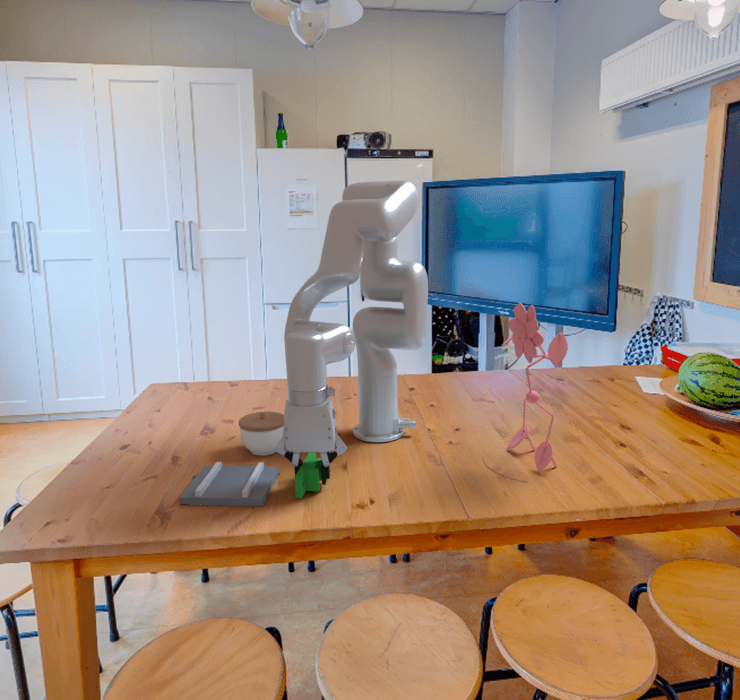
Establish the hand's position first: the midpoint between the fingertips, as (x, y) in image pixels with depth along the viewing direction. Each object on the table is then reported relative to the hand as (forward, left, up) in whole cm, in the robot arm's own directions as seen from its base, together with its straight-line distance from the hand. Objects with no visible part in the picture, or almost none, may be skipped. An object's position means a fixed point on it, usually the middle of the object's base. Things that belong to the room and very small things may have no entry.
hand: (312, 480), depth 114 cm
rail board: (+16, +1, -2) cm, 16 cm away
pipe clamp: (0, 0, -1) cm, 1 cm away
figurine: (-43, -13, -2) cm, 45 cm away
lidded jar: (+14, -18, -2) cm, 23 cm away
